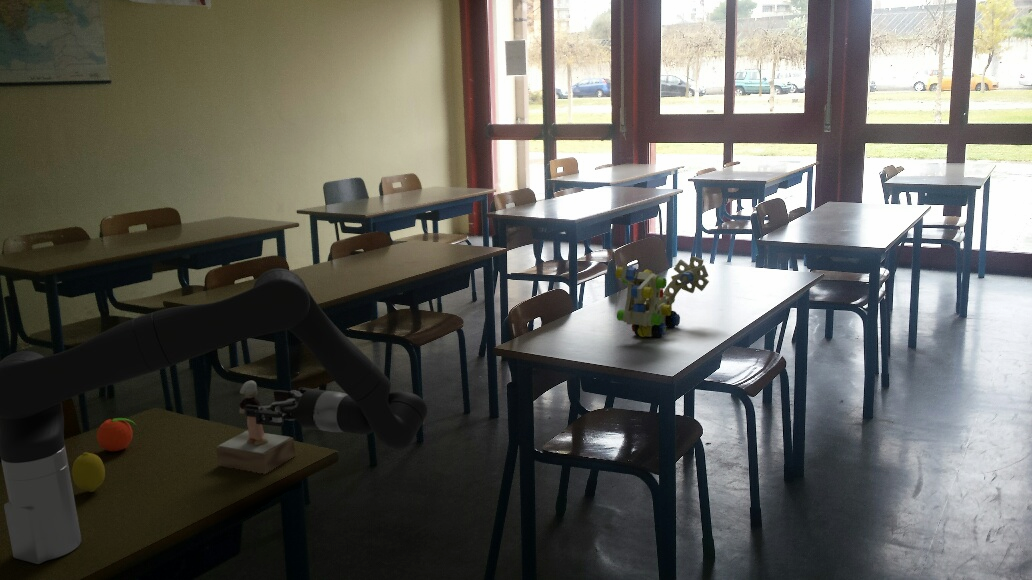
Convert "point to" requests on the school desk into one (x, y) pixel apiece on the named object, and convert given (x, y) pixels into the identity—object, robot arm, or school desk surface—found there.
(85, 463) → the lemon
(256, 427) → the grandmother figurine
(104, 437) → the clementine
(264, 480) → the school desk surface
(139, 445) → the school desk surface
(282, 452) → the plinth
